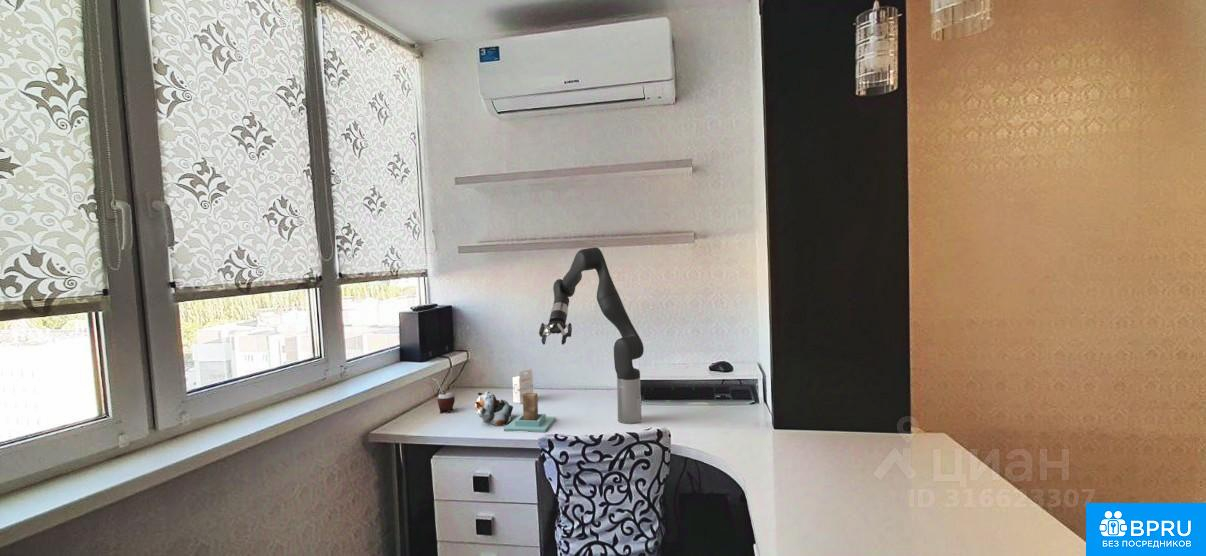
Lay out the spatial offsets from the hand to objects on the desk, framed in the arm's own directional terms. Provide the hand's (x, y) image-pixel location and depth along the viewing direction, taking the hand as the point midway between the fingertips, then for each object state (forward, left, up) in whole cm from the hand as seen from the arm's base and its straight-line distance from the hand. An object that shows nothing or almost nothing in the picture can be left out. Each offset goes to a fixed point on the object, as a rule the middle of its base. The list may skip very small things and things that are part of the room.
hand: (553, 343), depth 209 cm
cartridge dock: (+4, +22, -29) cm, 36 cm away
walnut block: (+4, +21, -28) cm, 35 cm away
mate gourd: (+47, +8, -29) cm, 56 cm away
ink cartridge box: (+18, -11, -29) cm, 36 cm away
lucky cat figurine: (+20, +19, -29) cm, 40 cm away
